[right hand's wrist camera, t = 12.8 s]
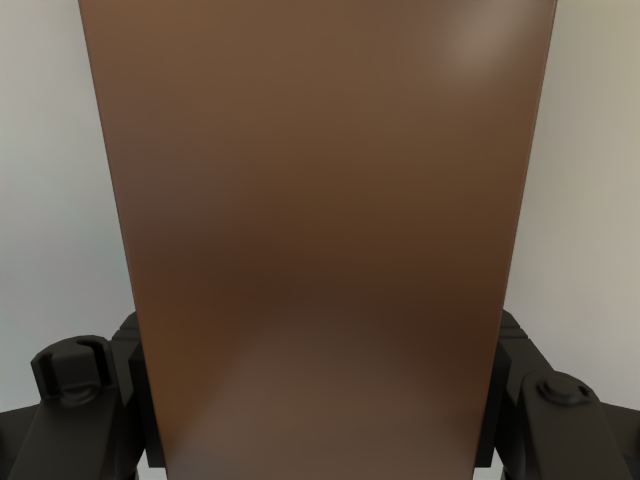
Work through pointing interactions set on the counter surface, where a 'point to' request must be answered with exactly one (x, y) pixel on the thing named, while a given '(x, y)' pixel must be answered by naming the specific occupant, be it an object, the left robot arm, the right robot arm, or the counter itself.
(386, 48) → the walnut box
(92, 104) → the counter surface
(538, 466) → the right robot arm
